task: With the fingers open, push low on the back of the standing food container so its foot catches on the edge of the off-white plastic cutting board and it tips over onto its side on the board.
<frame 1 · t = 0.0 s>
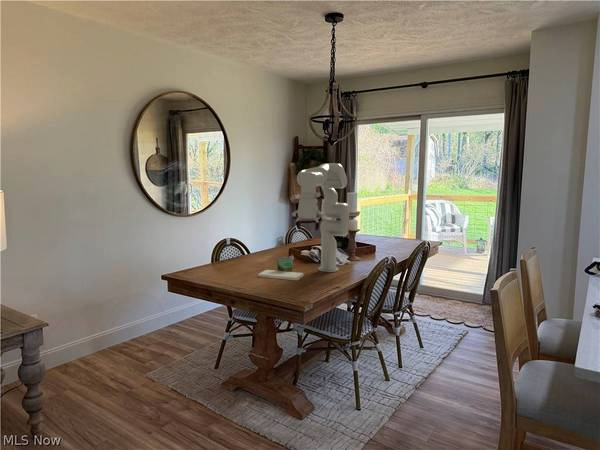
hand: (307, 229, 211), 31 cm above the table, tool pointing down, fingers open, 9 cm apart
cutting board: (281, 276, 240), on the table
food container: (286, 272, 249), on the table
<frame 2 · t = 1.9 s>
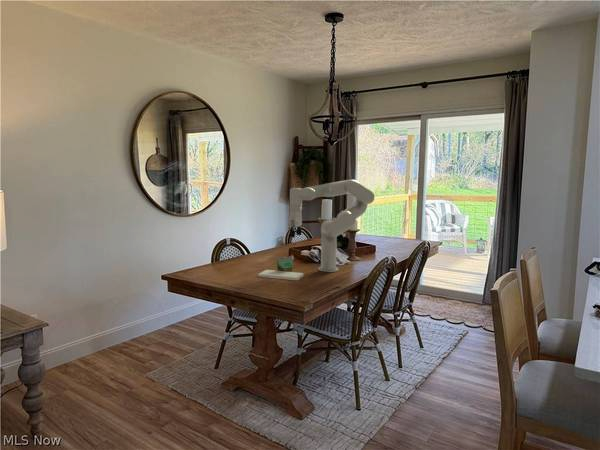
hand: (295, 236, 250), 22 cm above the table, tool pointing down, fingers open, 9 cm apart
nothing on the table moved.
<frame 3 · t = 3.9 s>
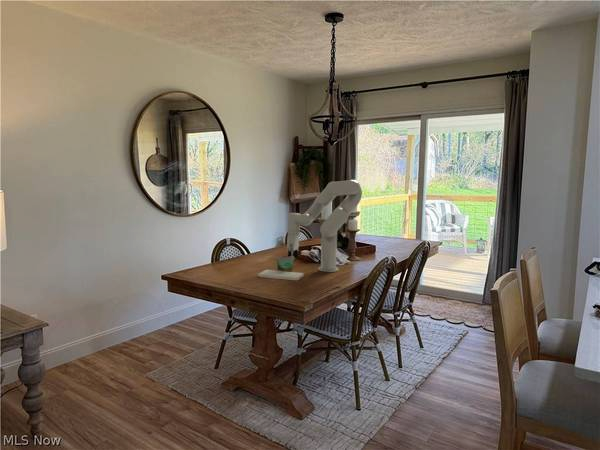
hand: (292, 259, 260), 6 cm above the table, tool pointing down, fingers open, 9 cm apart
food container: (286, 272, 248), on the table, touching gripper
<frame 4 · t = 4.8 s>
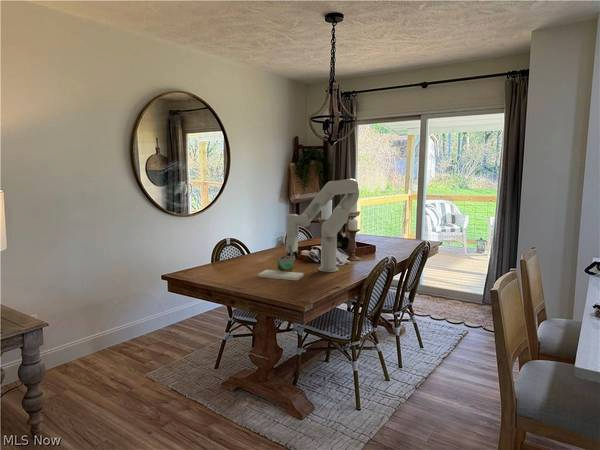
hand: (292, 260, 257), 5 cm above the table, tool pointing down, fingers open, 9 cm apart
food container: (286, 272, 248), on the table, touching cutting board, gripper
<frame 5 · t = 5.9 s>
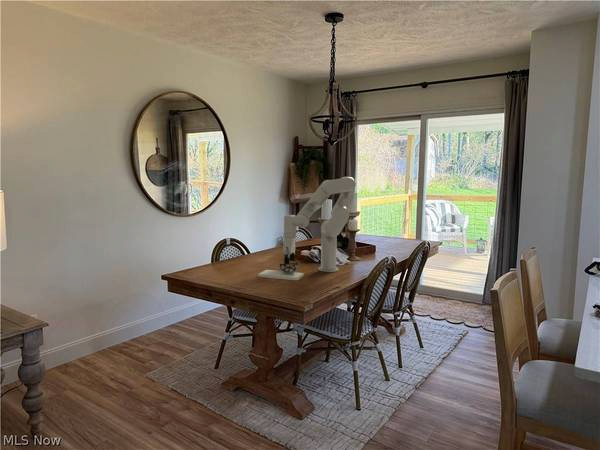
hand: (289, 262, 253), 5 cm above the table, tool pointing down, fingers open, 9 cm apart
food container: (289, 269, 247), point 2 cm above the table, touching cutting board, gripper
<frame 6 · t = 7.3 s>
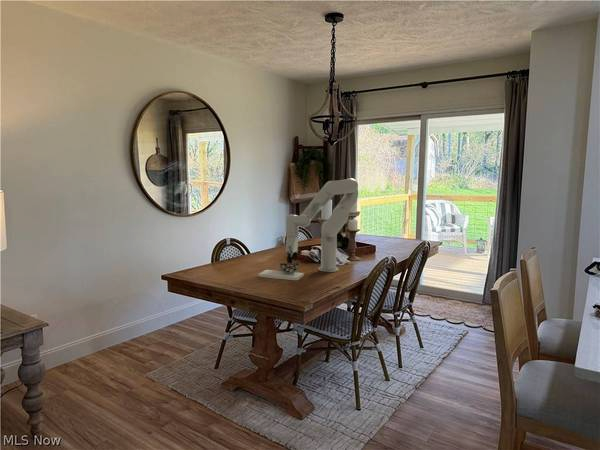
hand: (292, 261, 256), 5 cm above the table, tool pointing down, fingers open, 9 cm apart
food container: (289, 269, 247), point 2 cm above the table, touching cutting board
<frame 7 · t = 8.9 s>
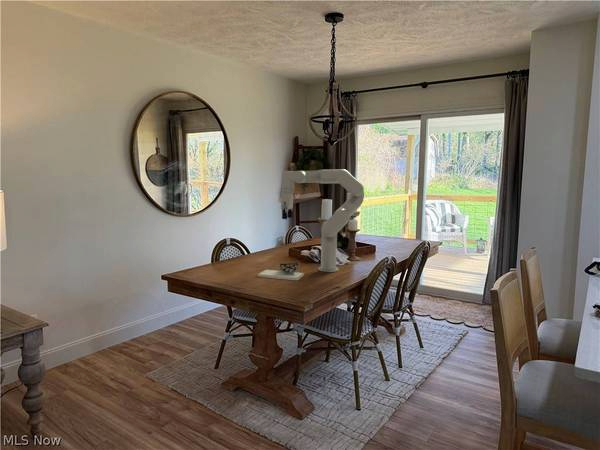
hand: (287, 218, 255), 32 cm above the table, tool pointing down, fingers open, 9 cm apart
nothing on the table moved.
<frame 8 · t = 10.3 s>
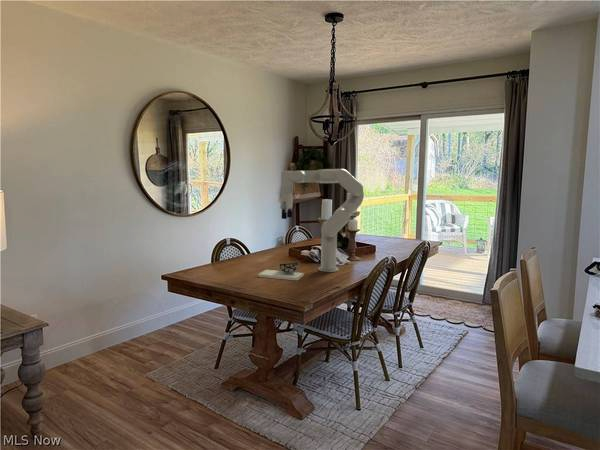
hand: (286, 218, 255), 32 cm above the table, tool pointing down, fingers open, 9 cm apart
nothing on the table moved.
at the end: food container tilted 75°; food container touching cutting board; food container inside the target area (7.1 cm from its centre), point 2.4 cm above the table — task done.
